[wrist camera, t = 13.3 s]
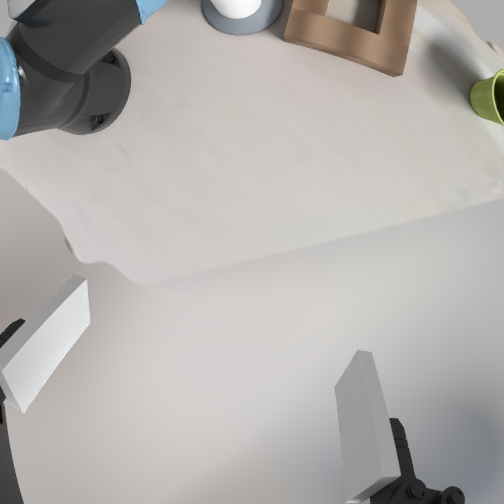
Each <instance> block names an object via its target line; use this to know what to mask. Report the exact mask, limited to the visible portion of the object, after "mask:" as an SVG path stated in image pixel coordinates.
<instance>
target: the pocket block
mask: <svg viewBox="0 0 504 504" xmlns="http://www.w3.org/2000/svg"><path fill="white" fill-rule="evenodd" d="M328 1H329V0H294V1H293V4H292V8H291V11H290V15H289V18H288V22H287V26H286V29H285V33H284V42H289V43H293V44H297V45H301V46H304V47H308V48H312V49H315V50H319V51H322V52H326V53H329V54H332V55H335V56H338V57H341V58H344V59H347V60H350V61H353V62H356V63H359V64H361V65H364V66H367V67H370V68H372V69H375V70H377V71H380V72H382V73H385V74H387V75H389V76H392V77H397V76H400V75H403V71H404V66H405V62H406V58H407V53H408V48H409V43H410V39H411V33H412V28H413V23H414V17H415V11H416V5H417V0H379V1H381V3H380V8H379V13H378V17H377V22H376V26H375V31H374V33H372V32H370V31H367V30H364V29H362V28H359V27H356V26H353V25H350V24H347V23H344V22H341V21H338V20H335V19H332V18H328V17H325V13H326V9H327V5H328Z"/></svg>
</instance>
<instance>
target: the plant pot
mask: <svg viewBox="0 0 504 504" xmlns="http://www.w3.org/2000/svg"><path fill="white" fill-rule="evenodd" d="M470 101H471V105H472V107H473V109H474V110H475V111H476V113H477V114H478V115H479V116H480V117H482V118H484V119H487V120H490V121H493V122H496V123H499V124H501V125H503V126H504V69H501V70H500V71H498V72H497V73H496V74H495V75H494V76H493V77H491V78H488V79H485V80H482V81H479V82H477V83H475V84H474V85H473V87H472V89H471V90H470Z"/></svg>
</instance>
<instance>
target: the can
mask: <svg viewBox="0 0 504 504" xmlns="http://www.w3.org/2000/svg"><path fill="white" fill-rule="evenodd" d="M211 2H212V3H213V5H214V6H215V8H216V9H217V10H218V12H219V13H221V14H222V15H223V16H225V17H228V18H232V19H240V18H245V17H248V16H250V15H252V14H253V13H255V12H256V11H257V10H258V8H259V7H260V5H261V0H211Z"/></svg>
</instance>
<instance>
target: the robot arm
mask: <svg viewBox="0 0 504 504" xmlns="http://www.w3.org/2000/svg"><path fill="white" fill-rule="evenodd" d="M167 1H168V0H8V11H9V17H10V18H11V19H14V20H16V21H18V23H17V24H16V25H15V27H14V28H13V29H12V31H11V32H10V33H9V35H8V36H7V37H6V38H5V39H4V38H2V37H0V140H1V139H3V140H8V139H10V138H11V137H16V136H20V135H24V134H28V133H33V132H38V131H43V130H48V129H53V128H58V129H60V130H63V131H66V132H69V133H71V134H76V135H85V134H91V133H95V132H98V131H101V130H103V129H105V128H106V127H108V126H109V125H110V124H111V123H113V122H114V121H115V120H116V118H117V117H118V116H119V115H120V113H121V112H122V110H123V108H124V106H125V104H126V102H127V99H128V96H129V92H130V86H131V74H130V69H129V65H128V63H127V60H126V59H125V57H124V56H123V54H122V53H121V52H120V51H118V50H117V49H116V48H114V47H115V46H116V45H117V44H118V43H119V42H120V41H121V40H122V39H124V38H125V37H126V36H127V35H128V34H129V33H131V32H132V31H133V30H134V29H135V28H137V27H138V26H139V25H140V24H141V25H143V24H144V23H145V22H146V19H148V18H149V17H150V16H151V15H152V14H154V13H155V12H156V11H157V10H159V9H160V8H161V7H162V6H164V5H165V4H166V2H167ZM89 324H90V313H89V303H88V290H87V279H85V278H83V277H80V276H77V275H73V276H72V278H70V279H69V280H68V281H67V282H66V283H65V284H64V285H63V286H61V287H60V288H59V290H57V291H56V292H55V293H54V294H53V295H52V296H51V297H50V298H49V299H48V300H47V301H46V302H45V303H44V304H43V305H42V306H41V307H40V308H39V309H38V310H37V311H36V312H35V313H34V314H33V315H32V316H31V317H30V318H29V319H28V320H27V321H25V320H23V319H19V320H17V321H15V322H13V323H11V324H10V325H9V326H8V327H7V328H6V329H5V331H4V332H2V334H0V504H24V503H23V500H22V496H21V493H20V489H19V485H18V481H17V477H16V473H15V468H14V464H13V460H12V454H11V449H10V444H9V437H8V431H7V423H6V415H5V406H4V403H3V401H4V400H5V398H7V400H8V401H9V403H10V405H11V406H12V407H14V408H15V409H17V410H19V411H20V412H22V413H24V412H25V411H26V409H27V408H28V406H29V405H30V403H31V402H32V401H33V399H34V398H35V396H36V395H37V393H38V392H39V390H40V389H41V387H42V386H43V385H44V383H45V382H46V381H47V379H48V378H49V376H50V375H51V374H52V372H53V371H54V370H55V368H56V367H57V365H58V364H59V363H60V361H61V360H62V359H63V357H64V356H65V355H66V353H67V352H68V351H69V349H70V348H71V347H72V345H73V344H74V343H75V342H76V340H77V339H78V338H79V336H80V335H81V333H83V331H84V330H85V329H86V328H87V326H88V325H89ZM335 393H336V400H337V410H338V419H339V427H340V438H341V449H342V459H343V460H342V461H343V473H344V488H345V503H354V502H355V503H356V502H363V501H365V500H366V499H368V498H370V504H464V503H465V499H464V498H465V497H464V495H463V492H462V491H461V490H460V489H459V488H457V487H454V486H451V487H448V488H446V489H445V490H443V491H438V490H433V489H428V488H426V486H425V484H424V483H423V482H422V481H421V480H418V479H416V477H415V473H414V469H413V464H412V459H411V455H410V451H409V448H408V442H407V440H406V434H405V430H404V427H403V426H402V424H401V423H400V421H399V420H398V418H389V416H388V412H387V408H386V404H385V400H384V397H383V392H382V388H381V385H380V381H379V377H378V374H377V370H376V367H375V363H374V360H373V356H372V352H367V351H361V350H357V352H356V353H355V355H354V357H353V359H352V360H351V362H350V363H349V365H348V367H347V368H346V370H345V372H344V373H343V375H342V376H341V378H340V380H339V381H338V383H337V384H336V386H335Z"/></svg>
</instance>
